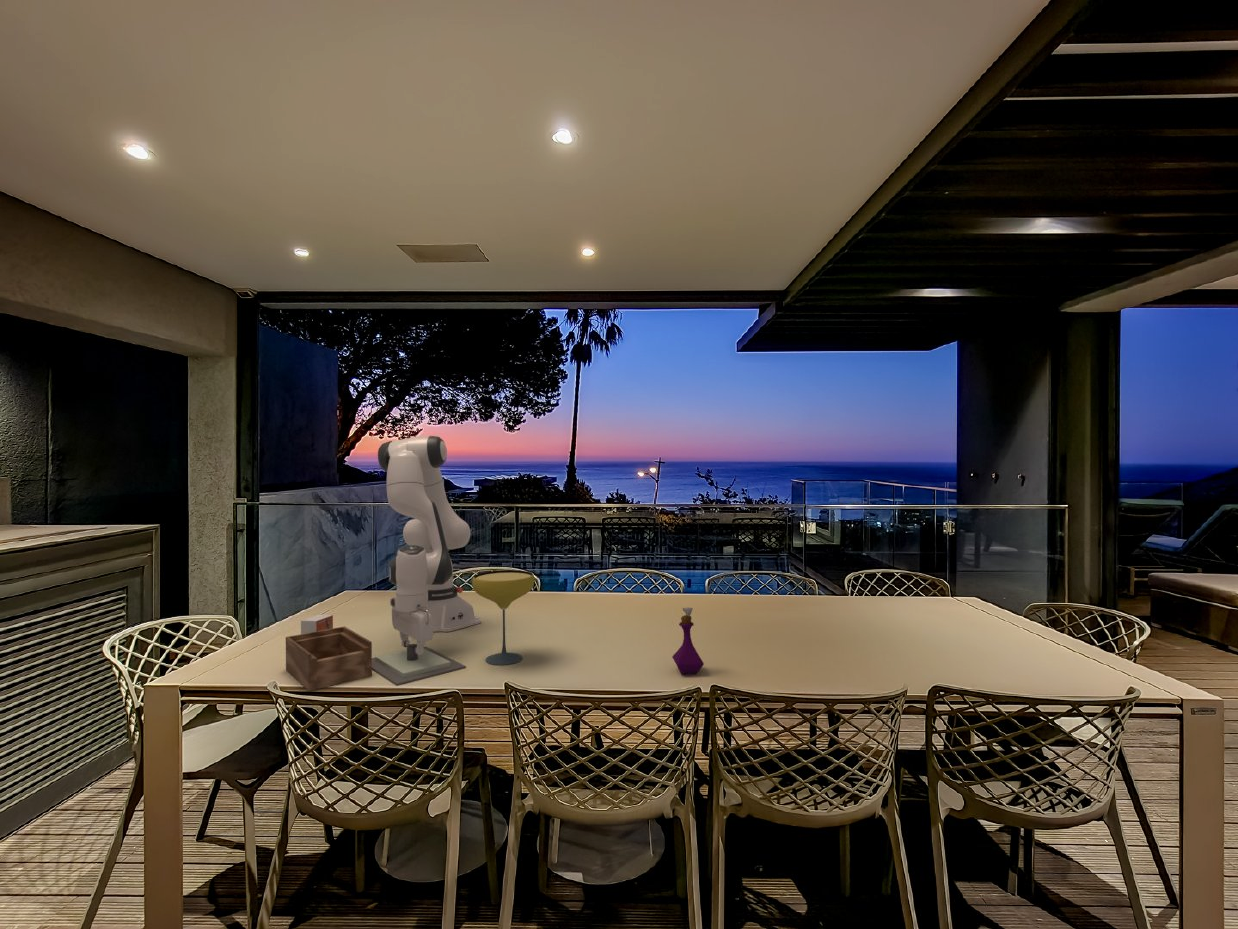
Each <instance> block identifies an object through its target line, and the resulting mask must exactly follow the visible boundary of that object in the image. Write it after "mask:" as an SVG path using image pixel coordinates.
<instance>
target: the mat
mask: <svg viewBox="0 0 1238 929" xmlns="http://www.w3.org/2000/svg"><path fill="white" fill-rule="evenodd" d="M424 649H426V650H428V651H430V652H432V653H434V654H436V655H438V656H440V657H442V658H444V659H446V660H448V661H450V662H451V666H449V667H445V668H441V669H437V670H433V671H429V672H425V673H421V674H417V675H413V676H409V677H405V678H403V677H401V676H399V675H398V674H396V673H395V672H393V671H391V670H390V669H388V668H387V667H385V666H383V665H382V664H380V663H378V662H377V661H375V657H372V671H374V672H375V673H377V674H379V675H380V676H381V677H383V678H385V679H386V680H387V681H388V682H390V683H392V684H394V685H395V686H396V687H397V686H401V685H405V684H408V683H413V682H417V681H421V680H424V679H428V678H431V677H436V676H439V675H445V674H448V673H451V672H455V671H459V670H462V669H467V668H466V667H467V666H466V665H464V664H463V663H461V662H459V661H456V660H454V659H453V658H451V657H448V656H446V655H444V654H442V653H440V652H438V651H436V650H435V649H432V648H430V647H428V646H424Z"/></svg>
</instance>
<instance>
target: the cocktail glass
mask: <svg viewBox="0 0 1238 929" xmlns="http://www.w3.org/2000/svg"><path fill="white" fill-rule="evenodd" d="M471 582H472V583H471V584H472V589H473V591H474V592H475V593H476V594H477V595H479V596H481V597H482V598H485V599H487V600H489V601H491V602H493V603H495V604H496V605H497V606H498V608H499V609H500V610H502V648H501V652H500V653H499V652H498V653H495V654H491V655H489V656H487V657H485V662H486V663H487V664H490V665H494V666H508V665H513V664H514V665H515V664H517V663H520V662H521V661H522V660H523V656H522V654H520V653H517V652H507V648H506V647H507V646H506V610H507V609H508V608H509V607H510V605H511V604H512V602H514V601H516V600H517V599H520V598H521V597H523V596H525V595H526V594H528V593H529V592H530V591H531V590H533V588H534V585H535V575H534V573H533V572H531V571H528V570H519V569H517V570H515V569H507V570H506V569H505V570H502V569H501V570H491V571H484V572H480V573H479V572H478V573H477V574H475V575H473V577H472V580H471Z"/></svg>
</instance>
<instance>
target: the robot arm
mask: <svg viewBox="0 0 1238 929" xmlns="http://www.w3.org/2000/svg"><path fill="white" fill-rule="evenodd" d="M447 456H448V449H447V446H446V443H445V441H444V440H443V438H441V437H440V436H436V435H429V436H412V437H408V438H402V439H396V440H394V441H393V440H390V441H386V442H384V443H382V444H380V446H379V448H378V450H377V461H378V464H379V466H380V469H382V470H383V471H384V472H386V495H387V498H386V499H387V503H388V504H389V506H390V508H391V509H392V510H394V511H395V512H397V513H398V514H400V515H402V516H405V517H408V518H411V519H410V520H409V521H407V522H406V523H405V525H404V527H403V532H402V536H403V540H404V543H406V544H407V545H404V546H401V547H400V548H398V550H397V555H395V556H394V557H393V558H392V559H391V560H390V561H389V562H388V566H389V577H388V582H390V583H391V584H392V585H394V586H397V587H396V591H395V596H394V597H391V598H390V599H389V600H390V601H389V602H390V603H389V605H390V606H391V621H392V622H391V623H392V626H393V629H394V630H396V631H398V632H399V636H400V639H401V646H402V647H403V648H407V645H409V644H410V639H409V637H410V638H412V639H415V640H416V644H417V648H415V650H416V652H415V653H416V654H418V655H420V654H423V653H424V647H425V645H426V642H428V641H432V639H433V637H434V632H445V633H448V632H449V633H450V632H453V631H457V630H460V629H463V628H467V627H471V626H475V625H478V624H481V623H482V620H481V618H480V617H478V616H476V615H475V611H474V607H473V605H472V604H471V603H469V602H468V601H466V600H465V599H463V598H462V597H461V596H459V594H462V593H463V591H464V588H463V587H461V586H455V585H454V568H453V567H454V566H453V562H452V559H451V556H450V554H449V550H456V549H460V548H464V547H466V545H468V543H469V541H470V539H471V528H470V526H469V523H467V522H466V521H465V520H463V519H462V518H461V517H460V516H459V515H458V514H457V513H456V512H455V510H453V508H452V506H451V505H450V503H449V501H448V497H447V492H446V490H445V485H444V480H443V475H442V471H441V469H440V467H441V466H443V465H444V464H445V462H446V461H447ZM412 518H413V519H412ZM458 593H459V594H458Z"/></svg>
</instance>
